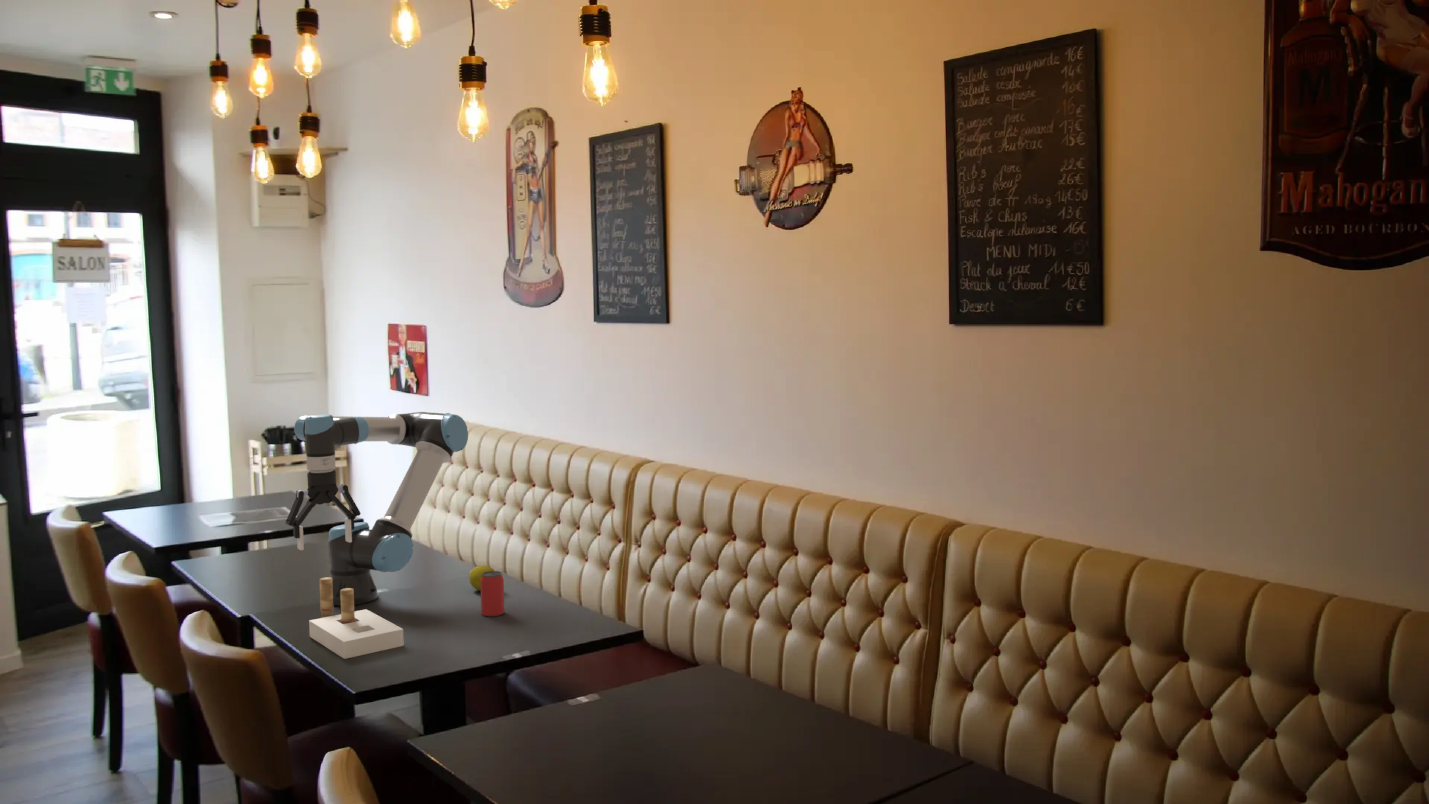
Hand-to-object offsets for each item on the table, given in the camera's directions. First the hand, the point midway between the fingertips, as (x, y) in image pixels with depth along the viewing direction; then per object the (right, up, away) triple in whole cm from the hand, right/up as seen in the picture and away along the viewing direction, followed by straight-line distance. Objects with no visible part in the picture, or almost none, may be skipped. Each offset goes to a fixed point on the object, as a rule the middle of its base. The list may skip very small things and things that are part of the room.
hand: (325, 545), depth 306 cm
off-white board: (+13, -24, -13) cm, 30 cm away
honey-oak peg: (0, -22, +2) cm, 23 cm away
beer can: (+45, -22, +12) cm, 51 cm away
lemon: (+37, -19, +36) cm, 55 cm away
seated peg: (+10, -24, -9) cm, 27 cm away
